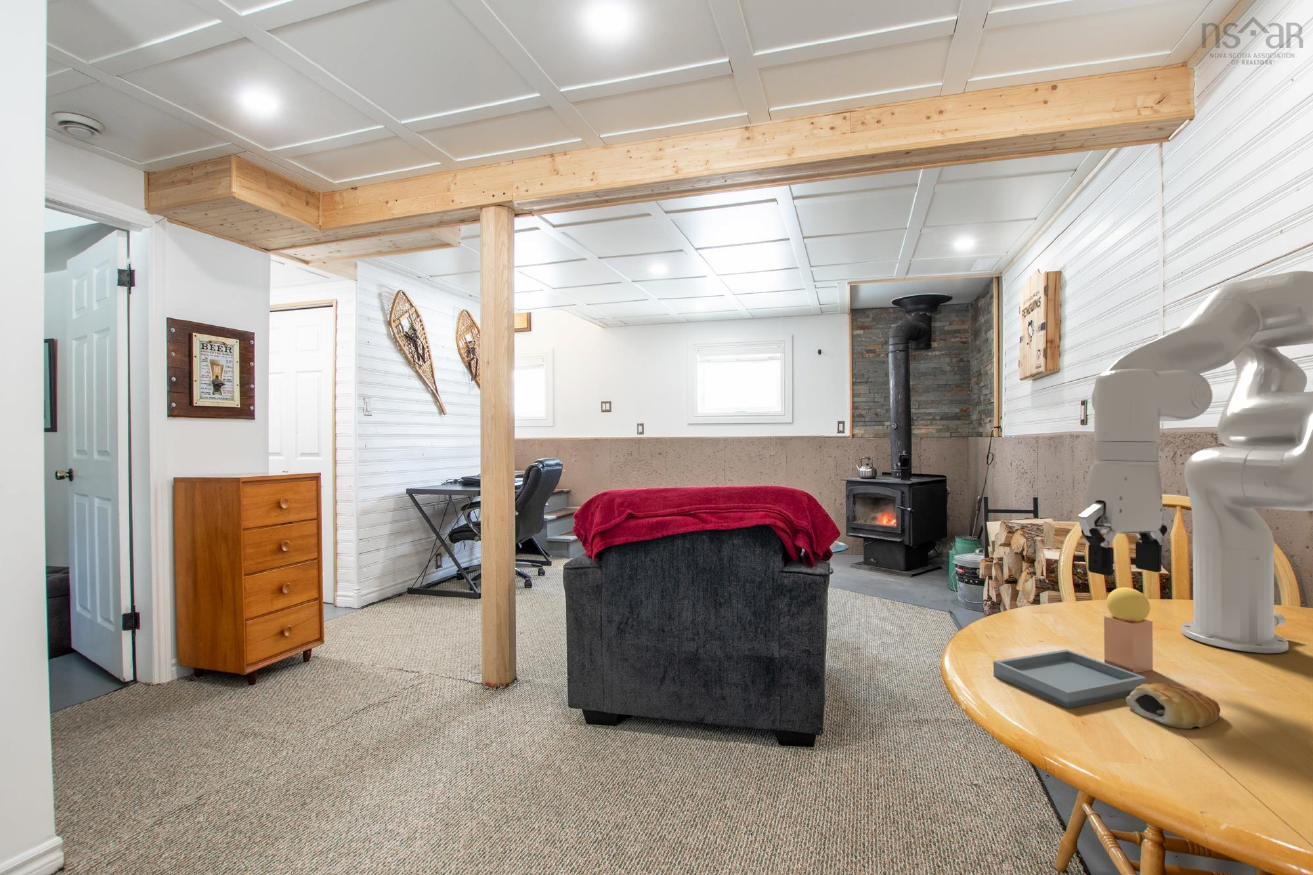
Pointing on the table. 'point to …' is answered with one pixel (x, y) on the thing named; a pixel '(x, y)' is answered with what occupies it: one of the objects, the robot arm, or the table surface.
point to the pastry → (1173, 705)
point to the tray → (1068, 678)
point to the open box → (1128, 644)
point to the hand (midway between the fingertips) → (1124, 571)
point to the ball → (1128, 605)
